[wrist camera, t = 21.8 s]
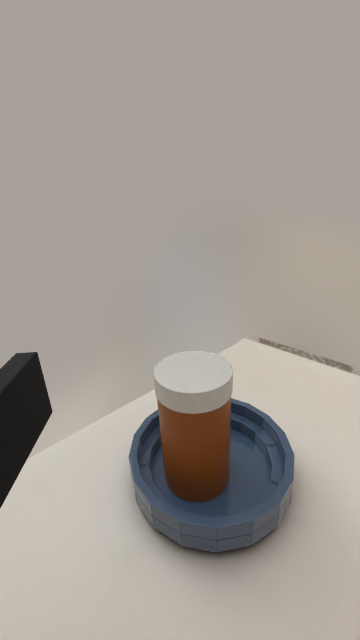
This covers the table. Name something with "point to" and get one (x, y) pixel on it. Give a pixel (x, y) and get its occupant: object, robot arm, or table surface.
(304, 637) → the table surface
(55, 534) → the table surface
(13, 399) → the robot arm
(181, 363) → the vitamin bottle
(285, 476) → the bowl
